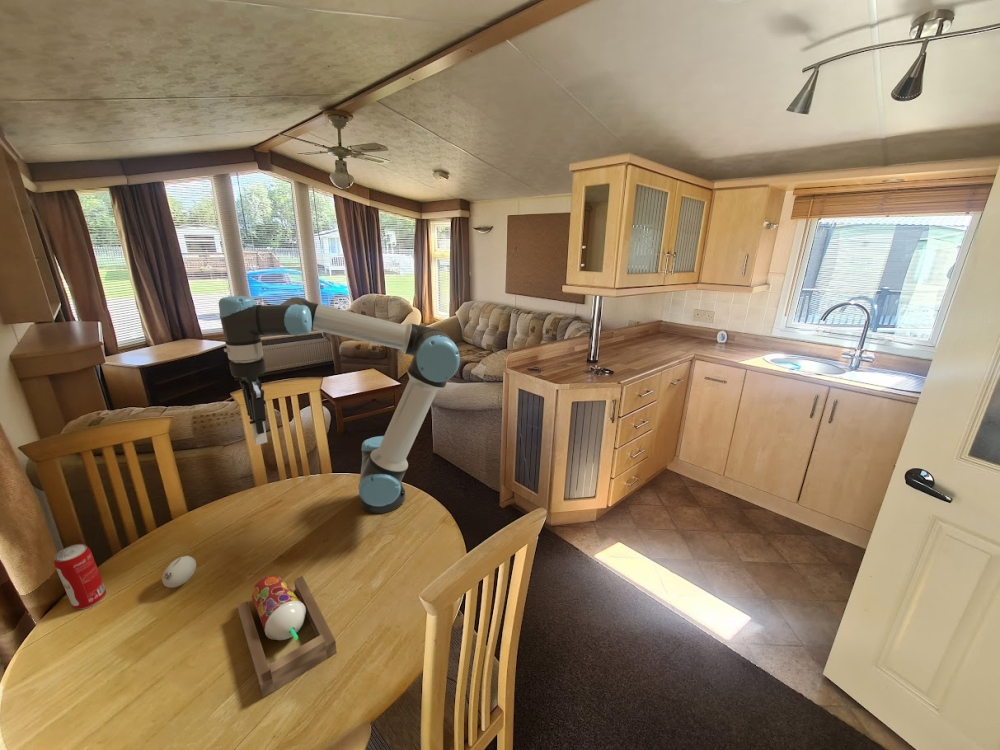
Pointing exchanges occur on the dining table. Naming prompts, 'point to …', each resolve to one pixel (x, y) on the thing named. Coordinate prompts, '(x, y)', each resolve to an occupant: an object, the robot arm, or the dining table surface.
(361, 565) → the dining table surface
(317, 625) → the u rest
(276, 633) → the smoothie
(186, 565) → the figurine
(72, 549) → the beverage can
